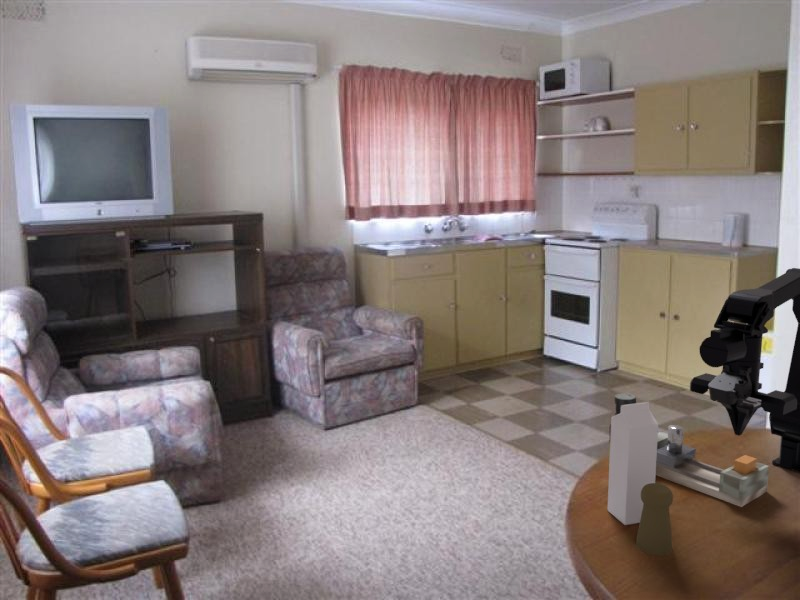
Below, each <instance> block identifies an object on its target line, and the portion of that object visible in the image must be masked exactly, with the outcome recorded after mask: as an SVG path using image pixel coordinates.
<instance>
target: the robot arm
mask: <svg viewBox="0 0 800 600" xmlns="http://www.w3.org/2000/svg"><path fill="white" fill-rule="evenodd" d="M790 300H792V309H791V310H792V312H793V314H794V317H795V320H796V321H797V329H796V332H795V333H796V334H795V340H794V343H793V348H792V349H793V350H792V353H791V359H790V366H789V370H788V375H787V381H786V385H785V390H784V391H782V390H781V391H780V390H777V389H776V390H773V391H770V392H768V393H764V392H761V391H759V390H762V388H763V383H761V382H760V381H759V380H760V372H761V371H760V370H761V369H764V362H761V358H762V346H763V334H768V332H769V329H768V327H766V324H767V322H769V321H770V320H771V319H772V318H773V317H774V315H775V309H776V308H778V307H780V306H782V305H783V304H785V303H787V302H788V301H790ZM713 328H714V329H712V330H710V336H708V337H706V338H705V339H704V340H702V342H701V344H700V346H699V348H698V349H699V355H700V358H701V360H702V361H703V363H704V364H706V365H707V366H709V367H710V368H711V367H712V368H720V367H722V370H721V373H720V374H718V375H715V374H712V373H711V374H710V373H706V372H705V373H702V374H700V375H697V376H694V377H693V378H692V379H691V380H690V383H689V391H690V392H692V393H696V394H699V395H704V394H707V393H709V398H710V400H711V401H713V402H717V403H719V404H721V405H722V406H723V407H724V408H725V409H726V412H727V415H728V417H729V420H730V423H731V426H732V429H733V432H734V435H736V436H738V437H739V436H741V435H743V433H744V431H745V429H746V428H747V426H748V425H749V423H750V420H751V419H752V417H753V416H754V415H755V413H756V412H757V411H758V409H760V408H762V410H763V411H764V412H766V413H769V415H768V419H769V428H770V433H771V435H774V436H778V437H780V442H779V443H780V444H779V455H778V457H777V458H775V459H773V460H771V464H772V465H776V466H779V467H782V468H786V469H789V470H791V471H795V472H798V473H800V268H798V267H797V268H796V267H793V268H792V267H791V268H788V269H787V270H786V271H785V272H784V274H781V275H780V276H777V277H776V278H774V279H772V280H770V281H769V282H766V283H765V284H763V285H761V286H759V287H758V288H751V289H750V288H749V289H740V290H735V291H733V292H731V293H730V294H729V295H728V297H727V298H726V299H725V301H724V303H723V306H722V308H721V310H720V312H719V314H718V316H717V317H716V321H715V323H714V324H713Z"/></svg>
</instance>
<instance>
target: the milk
mask: <svg viewBox="0 0 800 600" xmlns="http://www.w3.org/2000/svg"><path fill="white" fill-rule="evenodd" d="M610 425H611V439H610V463H609V462H608V488H607V489H608V493H607V511H608V512H609V513H610V514H611V515H612V516H613V517H615V518H616V519H617V520H618V521H619V522H621V523H622V524H623V525H624V526H628V525H629V526H630V525H634V524H635V525H636V524H638V523H639V524H640V519H641V514H642V509H643V504H644V503H643V502H642V500H641V490H642V488H643V487H644V486H645V485H647V484H650V483H656V457H657V439H658V432H659V422H658V421H657V419H656V417H654V415H653V413H652V411H651V410H650V402H649V401H646V402H645V401H644V402H636V404H628V405H622V406H621V412H620V414H617V415H615V414H614V415H613V416H611V418H610Z"/></svg>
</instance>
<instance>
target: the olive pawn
mask: <svg viewBox="0 0 800 600" xmlns="http://www.w3.org/2000/svg"><path fill="white" fill-rule="evenodd" d="M673 499H674V494H673V492H672V489H670V488H669V487H668V486H667V485H665V484H662V483H656V482H655V483H650V484H647V485H645V486H644V487H643V488H642V490H641V500H642V502H643V503H644V504H643V509H642V514H641V519H640V523H639V524H638V529H637V535H636V540H635V546H636V547H637V549H639V551H641V550H642V552H644V553H645V552H646V553H645V554H648V555H653V556H665V555H668V554H670V553H671V552H672V551H673V539H672V528H671V516H670V514H671V513H670V507H671V505H673V502H674V501H673Z"/></svg>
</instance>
